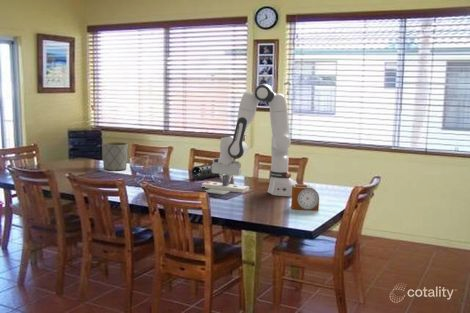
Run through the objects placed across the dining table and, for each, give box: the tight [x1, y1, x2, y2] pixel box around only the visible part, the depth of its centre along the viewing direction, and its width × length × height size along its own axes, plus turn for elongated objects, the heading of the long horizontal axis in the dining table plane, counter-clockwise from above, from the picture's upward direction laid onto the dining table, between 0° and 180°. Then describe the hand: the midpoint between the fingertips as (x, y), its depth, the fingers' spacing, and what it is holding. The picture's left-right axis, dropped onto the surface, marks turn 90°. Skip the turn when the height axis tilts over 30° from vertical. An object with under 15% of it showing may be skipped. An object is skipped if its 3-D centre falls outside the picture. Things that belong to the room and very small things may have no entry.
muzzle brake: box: [191, 163, 220, 181], centre depth 388 cm, size 10×28×10 cm, turn 144°
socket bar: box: [201, 180, 250, 194], centre depth 351 cm, size 30×10×3 cm, turn 65°
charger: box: [222, 174, 230, 186], centre depth 350 cm, size 3×4×8 cm
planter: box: [101, 141, 129, 172], centre depth 408 cm, size 19×19×20 cm
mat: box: [205, 188, 231, 195], centre depth 340 cm, size 14×9×1 cm, turn 65°
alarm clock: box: [290, 183, 320, 211], centre depth 303 cm, size 15×8×14 cm, turn 90°
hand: (225, 181), depth 350 cm, fingers closed on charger, 3 cm apart
